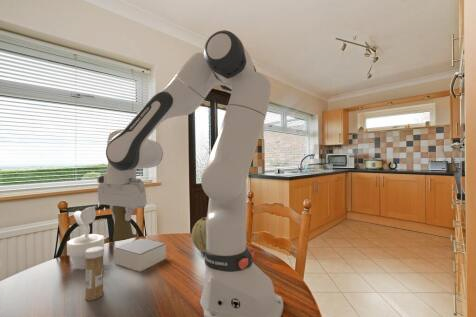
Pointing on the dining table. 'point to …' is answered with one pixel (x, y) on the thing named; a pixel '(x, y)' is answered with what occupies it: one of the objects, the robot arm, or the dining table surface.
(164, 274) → the dining table surface
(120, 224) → the brown tapered cylinder
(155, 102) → the robot arm
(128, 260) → the white lidded box
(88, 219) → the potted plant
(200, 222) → the cantaloupe
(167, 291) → the dining table surface
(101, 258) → the sprinkles bottle
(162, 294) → the dining table surface
